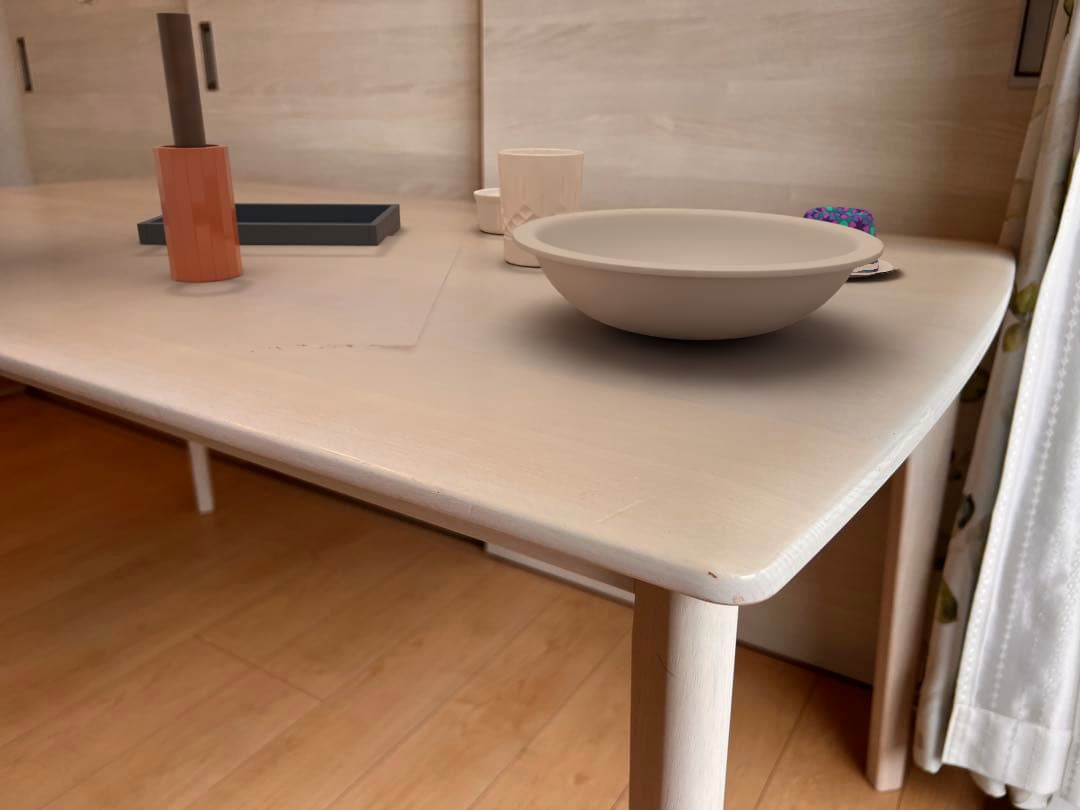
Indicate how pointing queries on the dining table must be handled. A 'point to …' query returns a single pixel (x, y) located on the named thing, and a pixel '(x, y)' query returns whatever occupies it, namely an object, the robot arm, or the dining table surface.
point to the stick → (181, 79)
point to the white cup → (536, 191)
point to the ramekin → (489, 210)
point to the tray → (300, 224)
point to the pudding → (850, 219)
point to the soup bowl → (695, 267)
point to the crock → (198, 212)
